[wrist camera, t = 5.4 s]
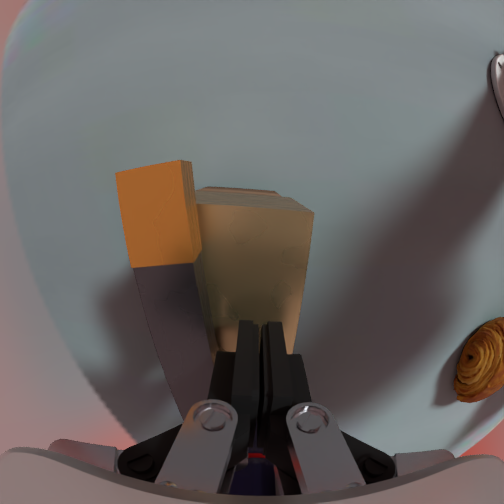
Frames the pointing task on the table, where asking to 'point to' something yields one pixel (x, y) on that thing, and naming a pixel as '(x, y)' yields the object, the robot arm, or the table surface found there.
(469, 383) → the croissant
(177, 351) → the lever
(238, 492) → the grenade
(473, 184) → the table surface
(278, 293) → the brushed brass block
